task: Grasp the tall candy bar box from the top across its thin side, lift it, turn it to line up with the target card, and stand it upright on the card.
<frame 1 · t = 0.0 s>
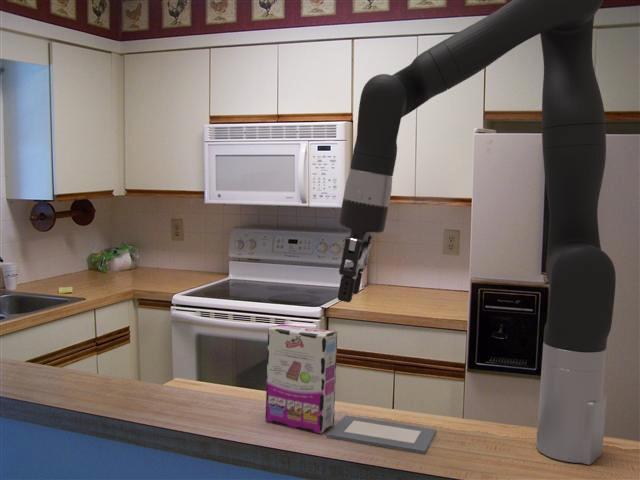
hand: (348, 296, 112), 22 cm above the countertop, tool pointing down, fingers open, 8 cm apart
candy bar box: (299, 424, 116), on the countertop
target card: (382, 434, 112), on the countertop
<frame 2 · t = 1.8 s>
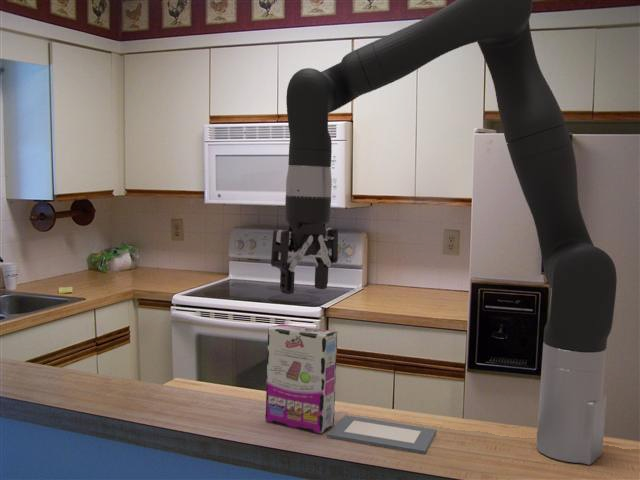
hand: (304, 291, 113), 23 cm above the countertop, tool pointing down, fingers open, 8 cm apart
nothing on the countertop moved.
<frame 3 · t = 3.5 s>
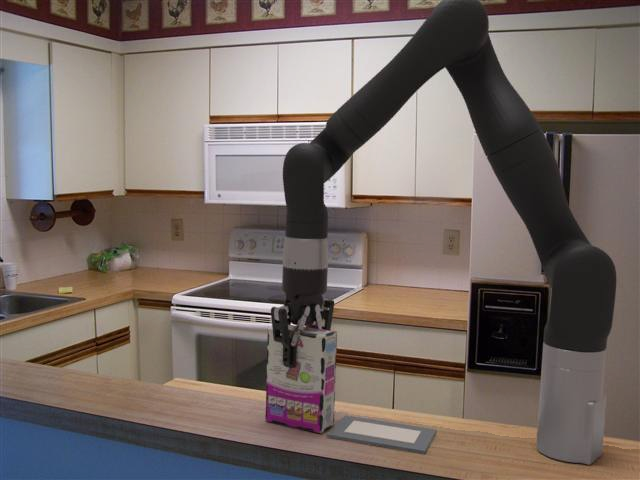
hand: (301, 363, 115), 11 cm above the countertop, tool pointing down, fingers closed on candy bar box, 5 cm apart
candy bar box: (299, 424, 116), on the countertop, touching gripper
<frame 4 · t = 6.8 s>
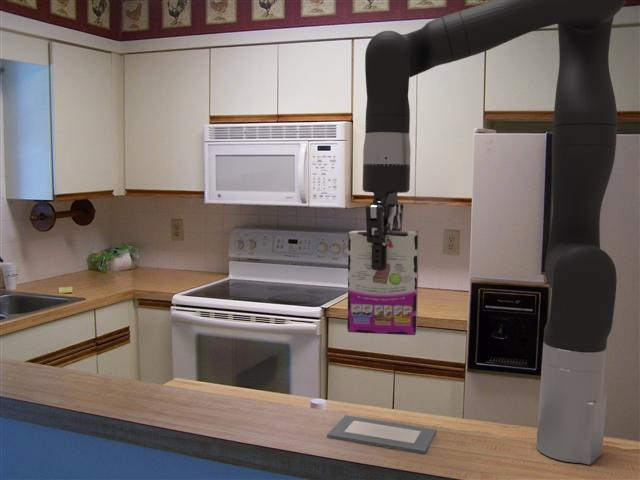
hand: (384, 267, 110), 28 cm above the countertop, tool pointing down, fingers closed on candy bar box, 5 cm apart
candy bar box: (382, 332, 111), point 17 cm above the countertop, touching gripper
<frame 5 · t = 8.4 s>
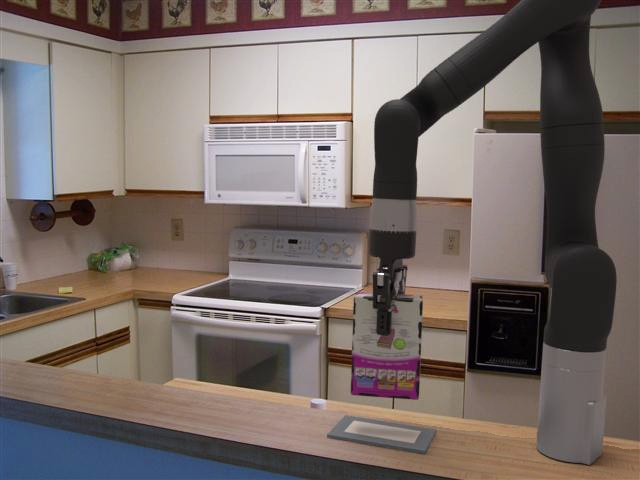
hand: (388, 330, 110), 17 cm above the countertop, tool pointing down, fingers closed on candy bar box, 5 cm apart
candy bar box: (384, 394, 111), point 7 cm above the countertop, touching gripper
when the fingers open (12 cm above the countertop, at t = 10.0 s): candy bar box drops 1 cm, resting on target card.
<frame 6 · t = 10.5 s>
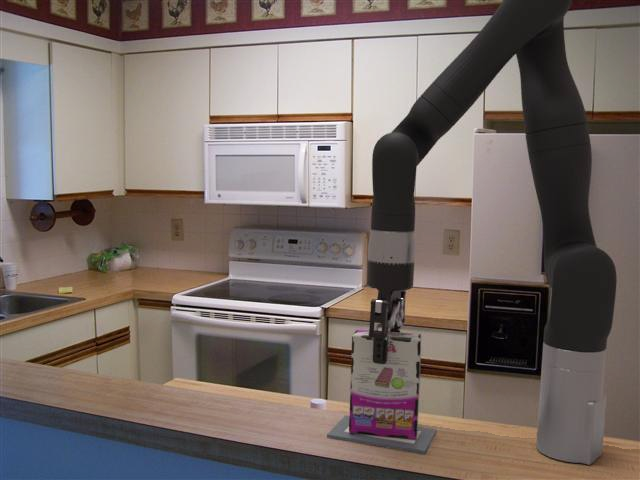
hand: (386, 357, 111), 13 cm above the countertop, tool pointing down, fingers open, 8 cm apart
candy bar box: (383, 432, 112), resting on target card
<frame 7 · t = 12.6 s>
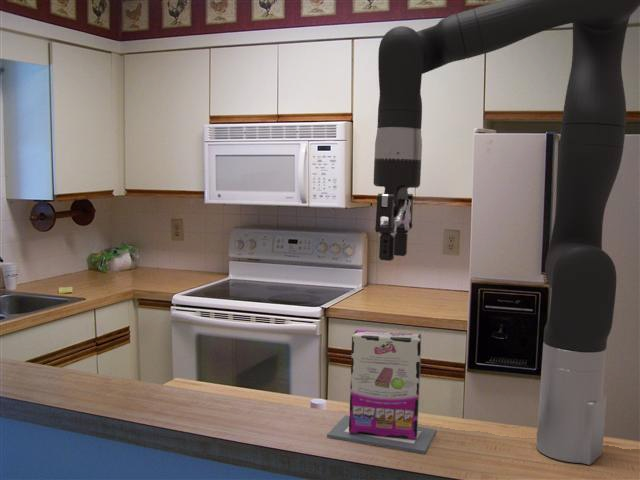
hand: (393, 257, 110), 29 cm above the countertop, tool pointing down, fingers open, 8 cm apart
nothing on the countertop moved.
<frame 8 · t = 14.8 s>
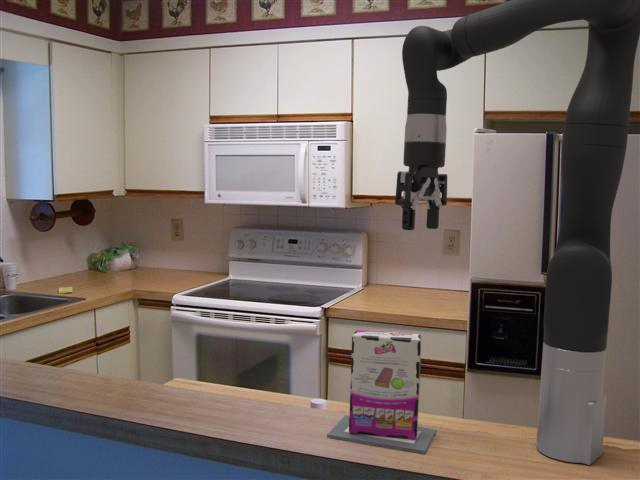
hand: (420, 229, 125), 33 cm above the countertop, tool pointing down, fingers open, 8 cm apart
nothing on the countertop moved.
at the end: candy bar box inside the target area on the target card (0.1 cm from its centre), point 0.4 cm above the target card's base; candy bar box tilted 0°; the gripper is holding nothing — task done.
